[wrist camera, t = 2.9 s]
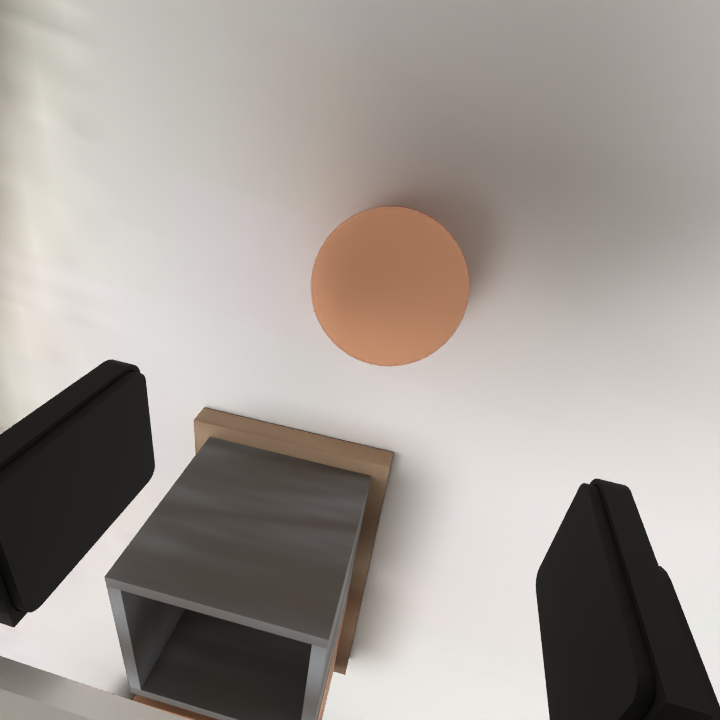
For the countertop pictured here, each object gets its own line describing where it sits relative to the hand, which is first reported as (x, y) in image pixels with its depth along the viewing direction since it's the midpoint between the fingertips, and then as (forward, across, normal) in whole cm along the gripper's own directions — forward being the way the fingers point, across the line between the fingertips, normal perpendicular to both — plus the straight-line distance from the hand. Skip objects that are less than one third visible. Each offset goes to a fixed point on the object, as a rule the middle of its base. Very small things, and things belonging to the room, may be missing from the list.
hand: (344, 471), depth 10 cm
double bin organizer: (+13, +5, +20) cm, 25 cm away
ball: (+10, +1, 0) cm, 10 cm away
